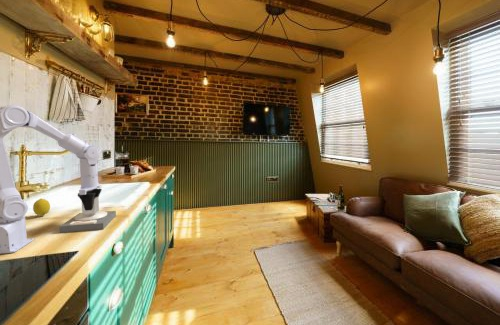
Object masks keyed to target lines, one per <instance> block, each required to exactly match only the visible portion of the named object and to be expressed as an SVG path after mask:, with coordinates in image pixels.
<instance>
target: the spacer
mask: <svg viewBox="0 0 500 325" xmlns="http://www.w3.org/2000/svg"><path fill="white" fill-rule="evenodd" d="M98 211H100V203H99V197H94V199H93V207H92V210H85V208H84V205H83V203H82V202H81V213H82V214H95V213H97V212H98Z"/></svg>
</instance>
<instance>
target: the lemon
mask: <svg viewBox="0 0 500 325" xmlns="http://www.w3.org/2000/svg"><path fill="white" fill-rule="evenodd" d="M50 210H51V205H50V202H49V201H48V200H47V199H45V198H39V199H37V200H36V201H35V202H34V203H33V206H32V211H33V212H34V214H35V215H37V216H40V217H44V216H45V215H47V214H48V213H49V212H50Z"/></svg>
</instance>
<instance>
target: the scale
mask: <svg viewBox="0 0 500 325" xmlns="http://www.w3.org/2000/svg"><path fill="white" fill-rule="evenodd" d="M116 217H117V211H116V210H110V211H109V210H108V211H104V210H99V211H98V212H97V213H95V214H82V212H78V213H77V214H76V215H75V216H72V217H71V218H70V219H68V220H67V221H65V222H64V223H63V224H61V225H59V233H62V234H63V233H72V232H73V233H75V232H86V231H98V230H101V231H102V230H105V229H106V227H107V226H108V225H110V223H111V222H113V220H114V219H115V218H116Z"/></svg>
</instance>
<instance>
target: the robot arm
mask: <svg viewBox="0 0 500 325" xmlns="http://www.w3.org/2000/svg"><path fill="white" fill-rule="evenodd" d="M17 128H30V129H33V130H36V131H37V132H39V133H41V134H43V135H45V136H47V137H50V138H51V139H54V140H55V141H57V144H58V146H59V147H60V148H62V149H64V150H67V151H68V152H70V153H72V154H74V155H75V156H76V157H77V159H79V170H80V188H79V189H78V193H77V197H78V198H79V199H80V201H81V204H82V203H83V205H84V208H85V210H92V207H93V199H94V197H98V198H99V197H100V194H101V192H102V187H103V185H102V184H101V185H100V182H99V173H98V172H99V171H98V159H99V158H100V156H101V152H100V150H98V147H96V146H95V145H89V142H87V141H84V140H82V139H80V138H78V135H77V134H75V133H71V132H70V133H69V132H68V133H64V132H62V131H60V129H57V128H56V127H54V126H53V125H51V124H50V123H48V122H47V121H45V120H43V119H42V118H40V117H39V116H37V114H35V113H33V112H31V111H29V110H26V109H25V108H24V107H22V106H20V105H14V104H10V105H5V106H0V255H1V254H2V255H3V254H12V253H16V252H18V251H19V250H20V249H22V248H23V247H25V246H26V245H28V244H30V243H31V242H33V241H34V240H35V238H34V237H31V238H27V237H28V235H27V226H26V225H27V223H26V213H27V212H28V208H29V207H28V204H27V203H26V202H25V200H23V199H22V196H21V193H20V192H19V190H18V189H17V188H16V185H15V180H14V176H13V173H12V168H11V165H10V162H9V161H10V160H9V156H8V152H7V150H6V145H5V140H4V138H5V137H6V136H7V135H8V134H10V132H12V131H13V130H15V129H17Z"/></svg>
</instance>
